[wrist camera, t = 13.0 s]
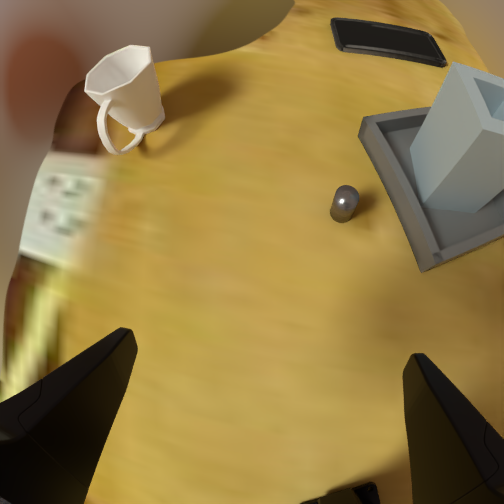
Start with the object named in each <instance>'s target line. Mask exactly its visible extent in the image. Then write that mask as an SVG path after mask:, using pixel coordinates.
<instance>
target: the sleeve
mask: <svg viewBox="0 0 504 504" xmlns="http://www.w3.org/2000/svg"><path fill="white" fill-rule="evenodd" d="M410 152H411V157H412V162H413V167H414V173H415V179H416V184H417V191H418V197H419V204H420V206H421V207H423V208H434V209H443V210H453V211H461V212H470V213H476V212H477V211H478V210H479V209H481V208H482V207H483V206H484V205H485V204H487V203H488V202H489V201H490V200H491V199H492V198H494V197H495V196H496V195H497V194H498V193H499V192H501V191H502V190H503V189H504V79H503V78H500V77H498V76H495V75H492V74H490V73H487V72H484V71H481V70H478V69H475V68H472V67H469V66H466V65H463V64H459V63H456V62H453V63H452V65H451V67H450V69H449V71H448V74H447V76H446V78H445V80H444V82H443V84H442V86H441V88H440V90H439V92H438V94H437V97H436V99H435V101H434V103H433V105H432V107H431V109H430V111H429V112H428V114H427V116H426V118H425V120H424V122H423V124H422V126H421V128H420V130H419V132H418V134H417V135H416V137H415V139H414V141H413V143H412V145H411V147H410Z"/></svg>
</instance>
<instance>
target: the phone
mask: <svg viewBox="0 0 504 504" xmlns="http://www.w3.org/2000/svg"><path fill="white" fill-rule="evenodd" d="M330 25H331V29H332V33H333V37H334V41H335V45H336V48H337V49H338V50H340V51H343V52H348V53H358V54H367V55H375V56H382V57H389V58H395V59H401V60H407V61H412V62H418V63H422V64H427V65H432V66H436V67H441V68H443V67H445V64H446V59H445V57H444V55H443V54H442V52H441V50H440V48H439V47H438V45H437V43H436V41H435V40H434V38H433V37H432V35H430V34H429V33H427V32H425V31H421V30H416V29H412V28H407V27H402V26H397V25H391V24H385V23H379V22H372V21H365V20H357V19H348V18H332V19H331V24H330Z"/></svg>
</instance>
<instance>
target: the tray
mask: <svg viewBox="0 0 504 504" xmlns="http://www.w3.org/2000/svg"><path fill="white" fill-rule="evenodd" d="M430 109H431V107H425V108H417V109H410V110H403V111H396V112H390V113H384V114H378V115H372V116H366V117H363V120H362V123H361V127H360V130H359V134H358V137H359V139H360V141H361V143H362V144H363V146H364V148H365V150H366V152H367V154H368V155H369V157H370V159H371V161H372V163H373V165H374V167H375V169H376V171H377V173H378V175H379V177H380V179H381V181H382V183H383V185H384V187H385V189H386V191H387V193H388V195H389V197H390V200H391V202H392V204H393V206H394V208H395V210H396V213H397V215H398V217H399V219H400V222H401V224H402V226H403V229H404V231H405V233H406V236H407V238H408V241H409V243H410V246H411V248H412V251H413V253H414V256H415V258H416V261H417V264H418V266H419V269H420V272H421V273H422V272H425V271H427V270H430V269H432V268H434V267H437V266H439V265H442V264H444V263H446V262H449V261H451V260H453V259H456V258H458V257H460V256H463V255H465V254H467V253H469V252H472V251H474V250H476V249H478V248H480V247H483V246H485V245H487V244H489V243H491V242H493V241H496V240H498V239H500V238H502V237H504V189H503V190H502V191H501V192H499V193H498V194H497V195H496V196H495V197H494V198H492V199H491V200H490V201H489V202H488V203H487V204H485V205H484V206H483V207H482V208H481V209H479V210H478V211H477V212H476V213H470V212H461V211H453V210H443V209H434V208H423V207H421V206H420V204H419V197H418V191H417V184H416V179H415V173H414V167H413V162H412V157H411V152H410V147H411V145H412V143H413V141H414V139H415V137H416V135H417V134H418V132H419V130H420V128H421V126H422V124H423V122H424V120H425V118H426V116H427V114H428V112H429V111H430Z"/></svg>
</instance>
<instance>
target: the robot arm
mask: <svg viewBox="0 0 504 504" xmlns="http://www.w3.org/2000/svg"><path fill="white" fill-rule="evenodd" d="M137 351H138V347H137V343H136V340H135V337H134V333H133V331H132V330H131V329H128V328H123V327H120V328H118V329H117V330H115V331H114V332H112V333H110V334H109V335H107V336H106V337H104V338H103V339H101V340H100V341H98V342H97V343H95V344H94V345H92V346H91V347H89V348H88V349H86V350H84V351H83V352H81V353H80V354H78V355H77V356H75V357H74V358H72V359H71V360H69V361H68V362H66V363H65V364H63V365H62V366H60V367H59V368H57V369H56V370H54V371H53V372H51V373H50V374H48V375H46V376H45V377H43V379H40V380H39V381H37V382H36V383H34V384H33V385H31V386H30V387H28V388H26V389H25V390H23V391H21V392H20V393H18V394H16V395H14V396H12V397H11V398H9V399H7V400H5V401H3V402H1V403H0V504H84V501H85V498H86V495H87V493H88V490H89V489H88V488H89V486H90V483H91V481H92V478H93V475H94V472H95V469H96V467H97V464H98V461H99V458H100V456H101V453H102V450H103V448H104V445H105V442H106V440H107V437H108V435H109V432H110V429H111V427H112V424H113V422H114V419H115V417H116V414H117V412H118V409H119V407H120V404H121V402H122V400H123V397H124V395H125V392H126V389H127V386H128V383H129V379H130V376H131V372H132V369H133V365H134V362H135V359H136V355H137ZM403 392H404V414H405V424H406V431H407V439H408V448H409V457H410V467H411V479H412V494H413V504H504V439H503V438H502V437H501V436H500V435H499V434H498V433H497V431H496V430H495V429H494V428H493V427H492V426H491V425H490V424H489V423H488V422H486V419H485V418H484V417H483V416H482V415H481V414H480V413H479V411H478V410H477V409H476V408H475V407H474V406H473V405H472V404H471V403H470V401H469V400H468V399H467V398H466V397H465V396H464V395H463V394H462V393H461V392H460V391H459V390H458V388H457V387H456V386H455V385H454V384H453V383H452V382H451V381H450V380H449V379H448V378H447V377H446V376H445V375H444V374H443V373H442V371H441V370H440V369H439V368H438V367H437V366H436V365H435V364H434V363H433V362H432V361H431V360H430V359H429V358H428V357H427V356H426V355H425V354H423V353H414V354H412V355H411V356H410V358H409V360H408V362H407V364H406V366H405V368H404V371H403ZM369 487H372V489H370V490H368V488H369ZM302 504H380V500H379V495H378V491H377V487H376V485H375V483H373V482H369V483H366V484H363V485H361V486H358V487H355V488H352V489H350V488H349V489H346V490H343V491H339V492H336V493H333V494H330V495H327V496H323V497H320V498H319V499H317V500H313V501H309V502H306V503H302Z"/></svg>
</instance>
